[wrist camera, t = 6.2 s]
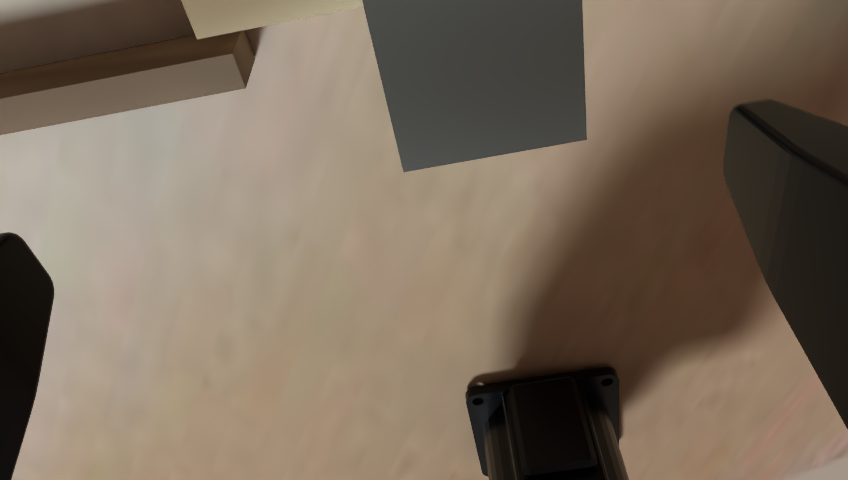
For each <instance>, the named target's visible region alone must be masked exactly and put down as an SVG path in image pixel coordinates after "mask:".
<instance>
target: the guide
mask: <svg viewBox="0 0 848 480" xmlns="http://www.w3.org/2000/svg"><path fill="white" fill-rule="evenodd" d="M254 61H255V57H254V54H253V51H252V49H251V46H250V43H249V40H248V38H247V35H246V32H245V30H242V31H237V32H232V33H227V34H222V35H217V36H212V37H207V38H202V39H197V38H196V35H193V36H188V37H183V38H178V39H173V40H168V41H163V42H158V43H153V44H148V45H142V46H137V47H132V48H127V49H122V50H117V51H112V52H107V53H102V54H97V55H92V56H87V57H82V58H77V59H72V60H67V61H62V62H57V63H52V64H47V65H42V66H37V67H31V68H26V69H21V70H16V71H11V72H6V73H1V74H0V135H3V134H8V133H14V132H19V131H24V130H29V129H35V128H40V127H45V126H50V125H56V124H61V123H66V122H71V121H77V120H82V119H87V118H92V117H97V116H103V115H108V114H113V113H118V112H124V111H129V110H134V109H139V108H145V107H150V106H155V105H160V104H166V103H171V102H176V101H181V100H187V99H192V98H197V97H202V96H207V95H213V94H218V93H223V92H228V91H234V90H239V89H244V88H246V86H247V83H248V79H249V76H250V73H251V70H252V67H253V64H254Z"/></svg>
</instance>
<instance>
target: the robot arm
mask: <svg viewBox="0 0 848 480" xmlns="http://www.w3.org/2000/svg"><path fill="white" fill-rule="evenodd" d="M723 172H724V178H725V181H726V184H727V187H728V189H729V192H730V194H731V197H732V199H733V202H734V204H735V207H736V209H737V212H738V214H739V217H740V219H741V222H742V224H743V227H744V229H745V232H746V234H747V237H748V239H749V242H750V244H751V247H752V249H753V252H754V254H755V257H756V259H757V262H758V265H759V267H760V269H761V271H762V274H763V276H764V278H765V281H766V283H767V285H768V287H769V288H770V290H771V292H772V294H773V296H774V298H775V300H776V302H777V303H778V305H779V307H780V309H781V311H782V312H783V314H784V316H785V318H786V320H787V321H788V323H789V325H790V327H791V329H792V330H793V332H794V334H795V336H796V337H797V339H798V341H799V343H800V345H801V346H802V348H803V350H804V352H805V354H806V355H807V357H808V359H809V361H810V363H811V364H812V366H813V368H814V370H815V372H816V373H817V375H818V377H819V379H820V381H821V382H822V384H823V386H824V388H825V389H826V391H827V393H828V395H829V397H830V398H831V400H832V402H833V404H834V406H835V407H836V409H837V411H838V413H839V415H840V416H841V418H842V420H843V422H844V424H845V425H846V427H847V429H848V126H845V125H843V124H840V123H837V122H834V121H831V120H829V119H826V118H823V117H820V116H817V115H814V114H812V113H809V112H806V111H803V110H800V109H797V108H795V107H792V106H789V105H786V104H783V103H780V102H778V101H775V100H772V99H763V100H757V101H752V102H746V103H741V104H737V105H736V106H734V107H733V108H732V110H731V112H730V115H729V119H728V127H727V135H726V143H725V151H724V159H723ZM53 299H54V286H53V282H52V280H51V277H50V276H49V274H48V273H47V271H46V270H45V269H44V267H43V266H42V265H41V263H40V262H39V260H38V259H37V258H36V256H35V255H34V254H33V252H32V251H31V249H30V248H29V247H28V245H27V244H26V242H25V241H24V240H23V239H22V238H21V237H20V236H18V235H17V234H14V233H10V232H8V233H1V234H0V480H11V479H12V475H13V472H14V469H15V465H16V462H17V458H18V455H19V452H20V448H21V445H22V442H23V438H24V435H25V432H26V428H27V425H28V422H29V418H30V415H31V411H32V408H33V404H34V400H35V396H36V392H37V387H38V382H39V377H40V372H41V366H42V360H43V355H44V349H45V344H46V338H47V333H48V327H49V321H50V316H51V310H52V305H53ZM466 404H467V408H468V413H469V417H470V421H471V426H472V430H473V434H474V439H475V443H476V447H477V452H478V456H479V460H480V465H481V469H482V473H483V474H484V475H485V476H488V477H489V480H629V478H628V475H627V472H626V468H625V465H624V462H623V458H622V455H621V452H620V449H619V379H618V376H617V373H616V370H615V369H613V368H610V367H603V368H597V369H590V370H584V371H577V372H571V373H564V374H558V375H551V376H544V377H538V378H531V379H525V380H518V381H512V382H505V383H498V384H492V385H485V386H479V387H474V388H471V389H469V390H468V391H467V392H466Z"/></svg>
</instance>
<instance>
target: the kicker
mask: <svg viewBox="0 0 848 480" xmlns="http://www.w3.org/2000/svg"><path fill="white" fill-rule="evenodd" d="M181 2H182V4H183V6H184V9H185V11H186V14H187V16H188V19H189V21H190V23H191V26H192V28H193V31H194V33H195V35H196V38H197V39H202V38H207V37H212V36H217V35H222V34H227V33H232V32H237V31H242V30H247V29H253V28H258V27H263V26H268V25H273V24H278V23H283V22H288V21H293V20H298V19H303V18H308V17H313V16H318V15H323V14H328V13H333V12H339V11H344V10H349V9H354V8H359V7H364V10H365V14H366V18H367V22H368V26H369V30H370V34H371V39H372V43H373V47H374V51H375V55H376V59H377V63H378V68H379V72H380V76H381V80H382V84H383V88H384V93H385V97H386V101H387V105H388V109H389V113H390V117H391V122H392V126H393V130H394V134H395V138H396V142H397V146H398V151H399V155H400V159H401V163H402V167H403V171H404V172H407V171H413V170H418V169H424V168H430V167H435V166H441V165H447V164H452V163H458V162H463V161H469V160H475V159H480V158H486V157H491V156H497V155H503V154H508V153H514V152H520V151H525V150H531V149H536V148H542V147H548V146H553V145H559V144H565V143H570V142H576V141H581V140H587V134H586V104H585V74H584V43H583V13H582V0H181Z"/></svg>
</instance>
